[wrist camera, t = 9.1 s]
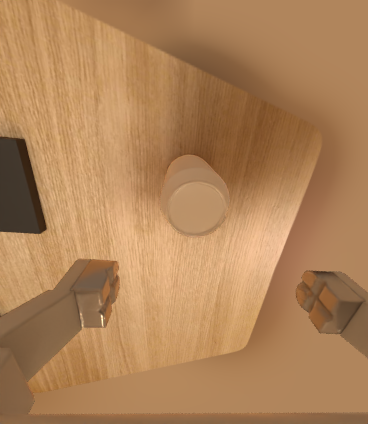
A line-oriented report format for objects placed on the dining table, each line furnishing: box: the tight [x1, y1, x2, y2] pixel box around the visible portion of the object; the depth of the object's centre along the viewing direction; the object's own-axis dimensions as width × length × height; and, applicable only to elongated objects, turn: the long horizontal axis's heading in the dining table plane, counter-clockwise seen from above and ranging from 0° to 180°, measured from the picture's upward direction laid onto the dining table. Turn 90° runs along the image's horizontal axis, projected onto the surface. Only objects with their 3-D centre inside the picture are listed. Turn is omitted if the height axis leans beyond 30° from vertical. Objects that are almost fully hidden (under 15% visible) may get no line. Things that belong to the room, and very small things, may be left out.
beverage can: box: [160, 155, 230, 237], centre depth 20 cm, size 6×6×12 cm
